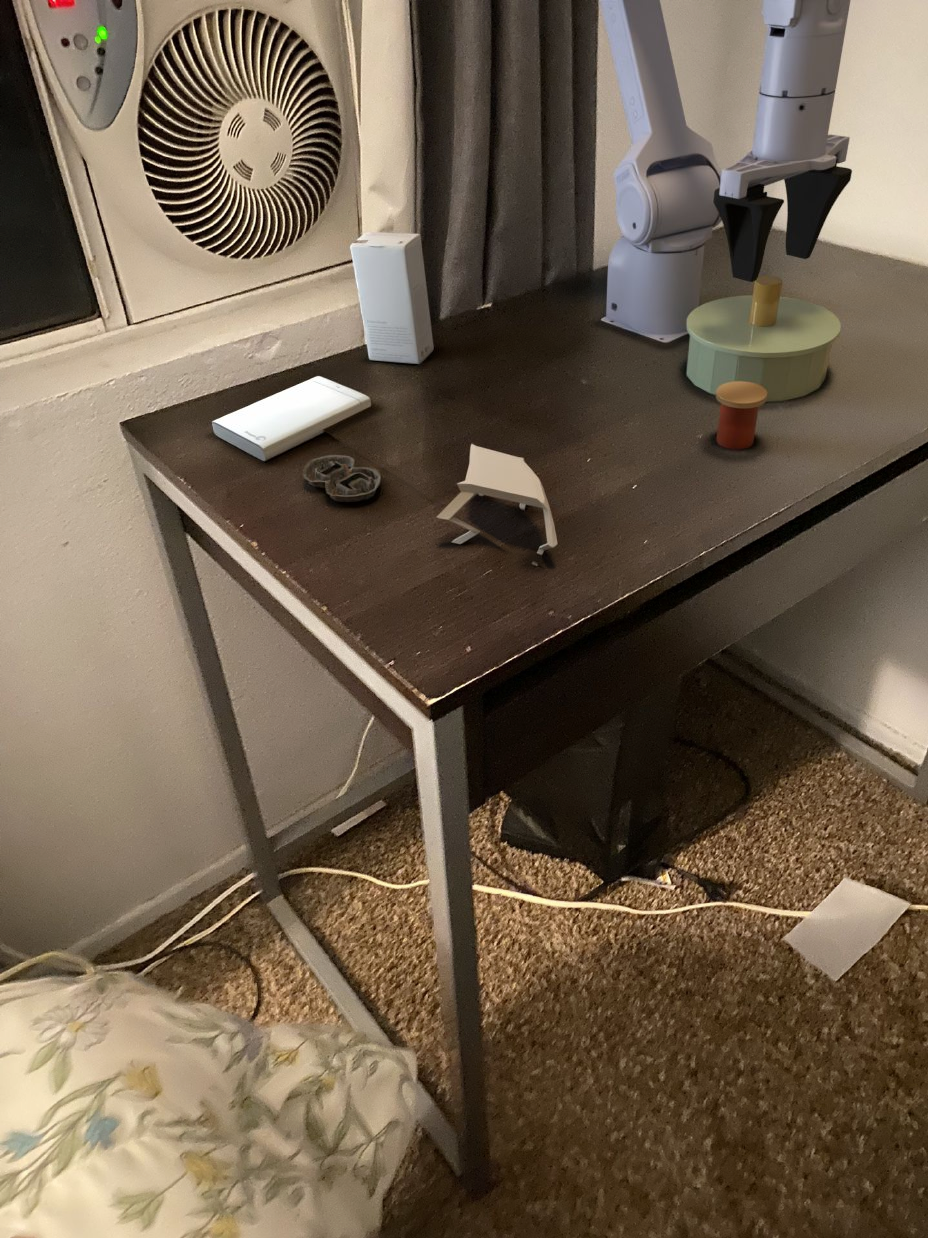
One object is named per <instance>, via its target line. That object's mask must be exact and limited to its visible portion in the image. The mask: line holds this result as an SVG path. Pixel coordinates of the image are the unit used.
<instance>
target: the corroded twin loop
mask: <svg viewBox="0 0 928 1238" xmlns="http://www.w3.org/2000/svg"><path fill="white" fill-rule="evenodd" d="M333 469H334V470H333ZM381 476H382V474H381V473H380V472H379V470H378V469H377V468H376V467H372V466H356V467H355V458H354V457H351V456H349V455H346V454H345V455H342V454H328V455H323V456H318V457H314V458H312V459H309V460H308V461H307V462H306V464H305V465H304V467H303V468H302V478H303V479H305V480H307V481H308V484H309V485H311V487H313V488H321V489H325V491H326V494H328V495H329V497H330V499H332V500H333V501H335V502H337V503H339V502H340V503H341V502H342V503H343V502H344V503H354V502H360V501H363V500H370V499H371V498H372V497H374V496H375V493H376V490H377V488H379V486H380V483H381ZM346 485H348V486H349V487H350V488H349V487H347V486H346Z"/></svg>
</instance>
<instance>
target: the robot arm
mask: <svg viewBox="0 0 928 1238" xmlns="http://www.w3.org/2000/svg"><path fill="white" fill-rule="evenodd" d="M599 4H600V9H601V13H602V14H601V15H602V19H603V22H604V26H605V31H606V35H607V40H608V44H609V49H610V52H611V57H612V63H613V66H614V72H615V76H616V80H617V83H618V89H619V93H620V97H621V98H620V99H621V102H622V106H623V111H624V115H625V119H626V120H625V121H626V124H627V129H628V133H629V137H630V142H631V147H630V148H629V149H628V151H627V152H626V154H624V156H623V158H622V159H621V161H619V163H618V165H617V167H616V169H615V170H614V172H613V174H612V177H613V181H614V182H613V183H614V187H615V217H616V222H617V226H618V228H619V231H620V232H621V234H622V236H621V237H619V238H618V239H617V241H616V242H615V243H614V245H613V247H612V249H611V253H610V254H609V257H608V262H607V281H606V305H605V307H606V308H605V316H604V317H602V318H601V319H600V321H602V322H604V323H607V324H609V325H613V326H615V327H619V328H621V329H624V330H627V331H630V332H633V333H634V334H635V333H636V334H638V335H641V336H643V337H646V338H650V339H653V340H655V341H658V342H662V343H670V342H672V341H674V340H677V339H680V338H681V337H684V336H686V335H689V333H688V331H687V329H686V321H687V317H688V316H689V314H690V313H691V312H692V311H693V310H694V309H696V308H697V307H699V306H700V305H699V304H700V296H701V295H700V294H701V288H702V287H701V286H702V285H701V284H702V275H703V267H704V266H703V265H704V257H705V246H706V245H705V244H706V241H709V240H712V239H713V229H715V228H716V227H718V225H720V224H721V223H722V225H723V228H724V231H725V236H726V239H727V244H728V250H729V259H730V266H731V273H732V279H733V278H734V279H738V280H741V281H745V282H748V283H754V281H755V280H757V277H759V275H760V272H761V270H762V266H763V261H764V256H765V251H766V246H767V243H768V238H769V235H770V233H771V230H772V227H773V225H774V222H775V220H776V218H777V216H778V213H779V212H780V210H781V208H782V206H783V205H784V203H785V199H783V198H778V197H773V196H768V191H765V187H766V186H769V185H773V184H775V183H778V182H780V181H783V182H784V186H785V193H786V203H787V207H786V210H787V216H786V228H785V229H786V230H785V255H786V256H789V257H794V258H797V259H798V258H799V259H803V260H808V259H810V257H811V255H812V253H813V251H814V249H815V246H816V244H817V241H818V239H819V238H820V234H821V232H822V230H823V227H824V225H825V223H826V220H827V218H828V216H829V214H830V212H831V210H832V208H833V207H834V205H835V203H836V201H837V199H838V198H839V197H840V195H841V193H842V192H843V191H844V190H845V188H846V186H848V184H849V183H850V182H851V179H852V173H853V170H852V169H851V168H849V167H845V166H838V164H842V163H845V162H846V161H847V155H848V150H849V144H850V136H846V135H838V134H831V133H830V134H829V131H830V124H831V119H832V112H833V107H834V101H835V95H836V89H837V85H838V78H839V72H840V67H841V60H842V53H843V48H844V42H845V36H846V29H847V23H848V19H849V11H850V6H851V0H762V8H761V9H762V10H761V16H763V23H764V25H767V26H766V33H765V41H764V48H763V49H764V50H763V59H762V67H761V74H760V75H761V76H760V81H759V82H760V83H759V84H760V85H759V92H758V99H757V108H756V118H755V125H754V131H753V132H754V134H753V141H752V148H751V149H752V150H750V151H749V152H748V153H746V154H745V155H744V156H743V157H741V158H740V159H738V161H736V162H735V163H733V164H731V165H729V166H728V167H725V168H722V169H721V167H720V166H719V164H718V162H717V159H716V157H715V152H714V149H713V144H712V143H711V141H709V140H708V139H706V138H704V137H703V136H702V135H701V134H699V133H697V132H696V131H694V130H693V129H692V128H690V127H689V126H688V125H687V121H686V117H685V112H684V111H685V110H684V107H683V102H682V97H681V93H680V88H679V83H678V79H677V75H676V69H675V65H674V59H673V55H672V51H671V47H670V42H669V37H668V32H667V27H666V22H665V18H664V13H663V9H662V5H661V0H599Z"/></svg>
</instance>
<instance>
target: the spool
mask: <svg viewBox="0 0 928 1238" xmlns="http://www.w3.org/2000/svg"><path fill="white" fill-rule="evenodd" d="M715 399H716V400H717V401H718V403H720V410H719V417H718V424H717V425H718V426H717V431H716V442H717V444H718V445H719V446H721V447H723V448H725V449H729V450H743V449H749V448H750V447H752V445H754V440H755V435H756V434H755V433H756V427H757V422H758V421H757V420H758V415H759V410H760V409H759V408H760V406H762V405H764V404H765V403H766V402H765V401H766V399H767V391H766V389H765V388H763V387H762V386H760V385H758V384H755V383H751V382H743V381H735V382H728V383H725V384H722V385H721V386H719V387H718V388H717V390H716V395H715Z"/></svg>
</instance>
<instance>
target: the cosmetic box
mask: <svg viewBox="0 0 928 1238" xmlns="http://www.w3.org/2000/svg"><path fill="white" fill-rule="evenodd" d="M349 249H350V254H351V260H352V265H353V272H354V277H355V283H356V288H357V295H358V300H359V306H360V313H361V319H362V325H363V329H364V336H365V343H366V348H367V349H366V350H367V354H368V359H369V360H370V361H376V362H377V361H378V362H388V363H389V362H390V363H399V364H400V363H401V364H412V365H421V364H422V363H423V362H424V361H425V360H426V359H427V358H428V357H429V356H430V355H431V354H432V353H433V351H434V348H435V347H434V346H435V345H434V339H433V333H432V332H433V330H432V322H431V321H432V320H431V314H430V306H429V296H428V287H427V281H426V280H427V279H426V278H427V277H426V271H425V261H424V255H423V244H422V236H421V234H420V233H408V232H407V233H405V232H380V231H379V232H377V231H376V232H375V231H366V232H365V233H363V234H362V235H361V236H359V237H358V238H357V239H356V240H354V241H353V242H352V243H351V244H350V246H349Z"/></svg>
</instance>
